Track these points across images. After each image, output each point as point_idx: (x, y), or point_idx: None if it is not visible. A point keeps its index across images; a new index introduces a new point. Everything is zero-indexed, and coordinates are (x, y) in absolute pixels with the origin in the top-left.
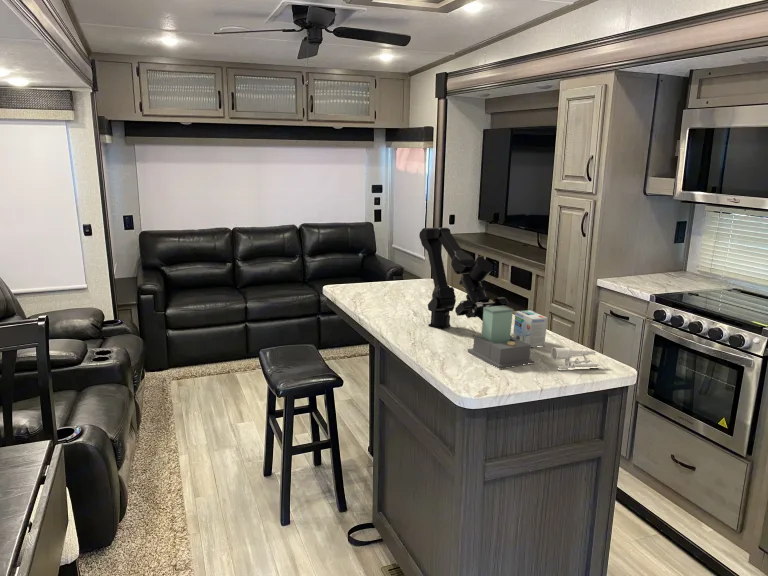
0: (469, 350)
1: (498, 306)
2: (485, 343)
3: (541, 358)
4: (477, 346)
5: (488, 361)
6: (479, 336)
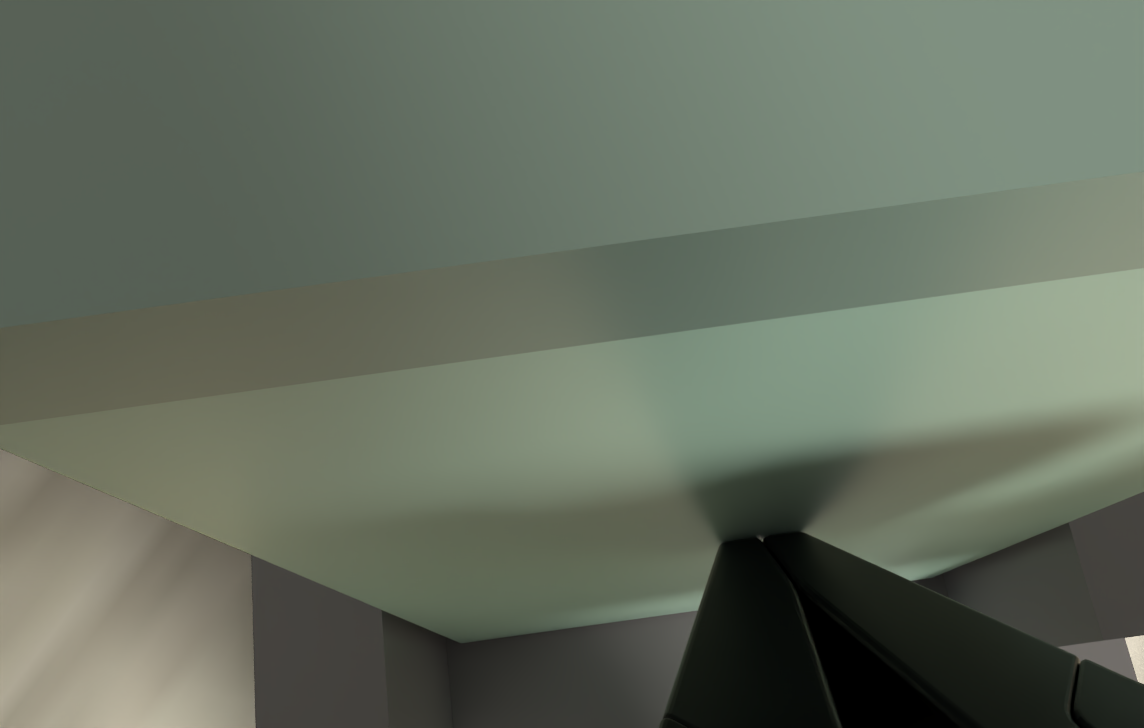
0: (1128, 666)
1: (542, 68)
2: None
3: None
4: None
5: None
6: (1100, 539)
